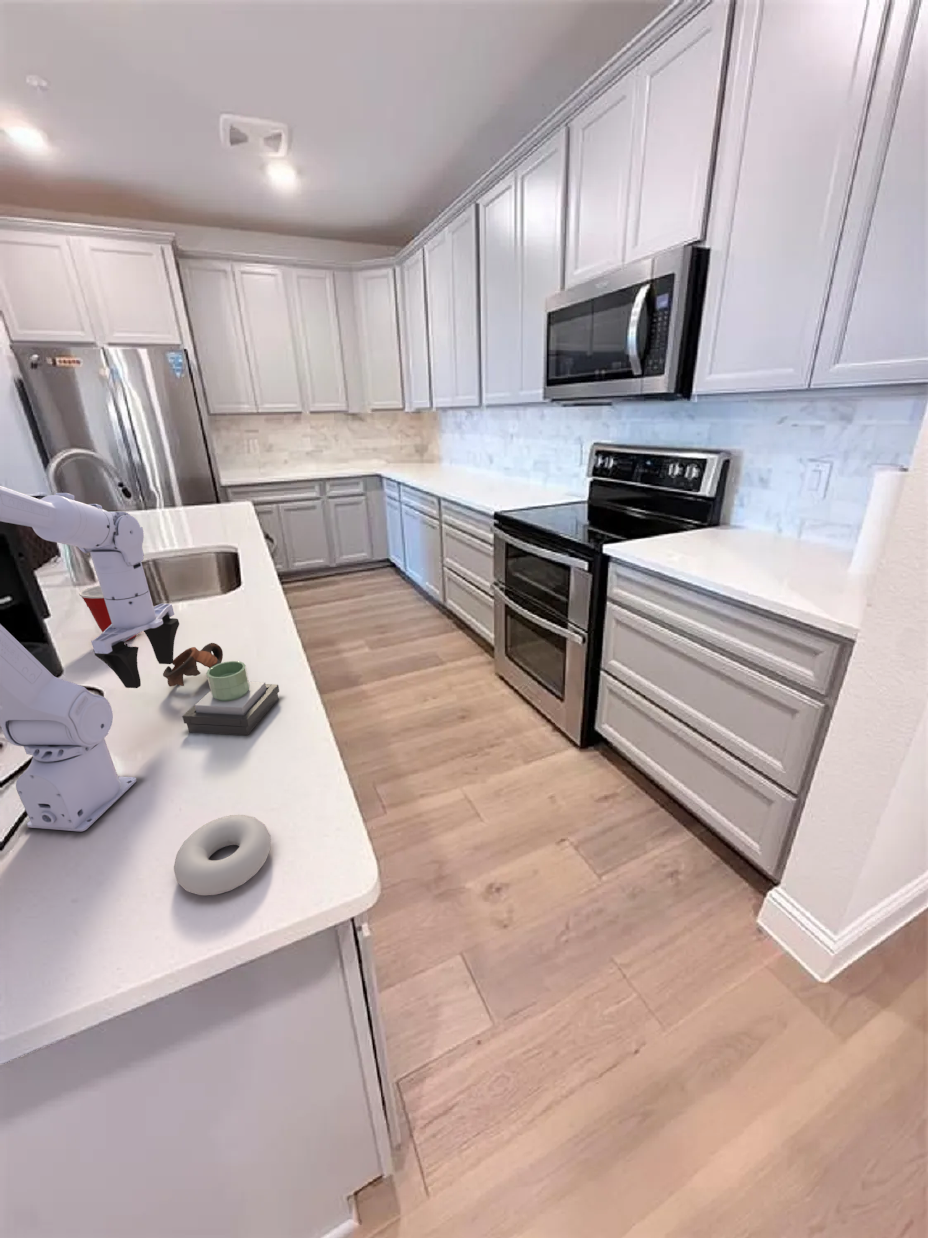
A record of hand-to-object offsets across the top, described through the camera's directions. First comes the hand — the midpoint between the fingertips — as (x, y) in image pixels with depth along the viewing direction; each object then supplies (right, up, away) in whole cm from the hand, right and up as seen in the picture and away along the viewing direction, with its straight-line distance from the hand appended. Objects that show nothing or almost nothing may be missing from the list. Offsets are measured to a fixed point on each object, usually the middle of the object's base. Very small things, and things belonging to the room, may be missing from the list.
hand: (150, 674), depth 80 cm
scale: (+11, -7, +6) cm, 14 cm away
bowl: (+11, -4, +4) cm, 12 cm away
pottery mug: (0, -3, +16) cm, 17 cm away
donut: (+22, -19, -22) cm, 37 cm away
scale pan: (+11, -5, +5) cm, 13 cm away
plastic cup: (-29, +4, +36) cm, 47 cm away
